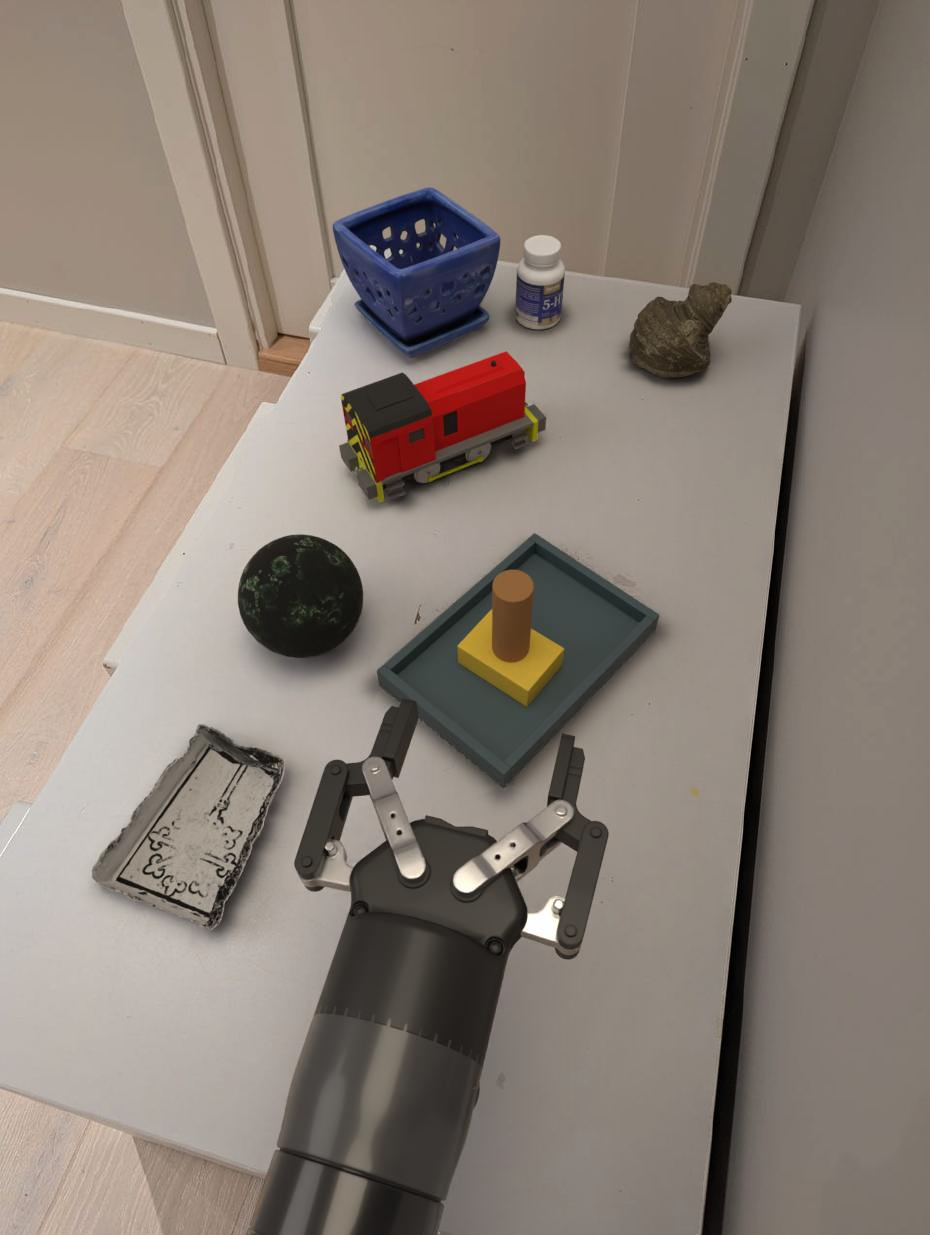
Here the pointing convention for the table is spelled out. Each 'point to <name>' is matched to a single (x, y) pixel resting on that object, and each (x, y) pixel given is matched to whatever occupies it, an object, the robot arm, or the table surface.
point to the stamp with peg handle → (511, 642)
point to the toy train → (435, 423)
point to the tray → (562, 611)
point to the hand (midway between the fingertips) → (487, 723)
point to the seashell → (678, 331)
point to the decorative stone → (300, 596)
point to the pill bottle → (540, 283)
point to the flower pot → (419, 268)
